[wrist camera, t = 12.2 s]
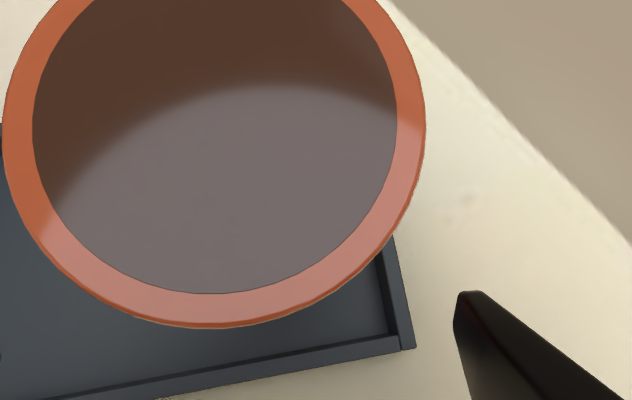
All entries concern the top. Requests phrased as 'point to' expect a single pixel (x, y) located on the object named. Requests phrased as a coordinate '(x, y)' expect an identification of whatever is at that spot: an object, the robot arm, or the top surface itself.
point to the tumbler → (213, 151)
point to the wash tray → (172, 331)
